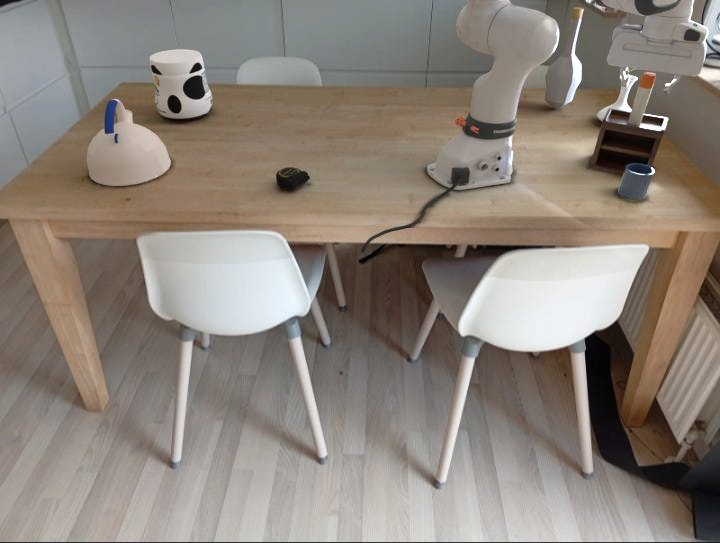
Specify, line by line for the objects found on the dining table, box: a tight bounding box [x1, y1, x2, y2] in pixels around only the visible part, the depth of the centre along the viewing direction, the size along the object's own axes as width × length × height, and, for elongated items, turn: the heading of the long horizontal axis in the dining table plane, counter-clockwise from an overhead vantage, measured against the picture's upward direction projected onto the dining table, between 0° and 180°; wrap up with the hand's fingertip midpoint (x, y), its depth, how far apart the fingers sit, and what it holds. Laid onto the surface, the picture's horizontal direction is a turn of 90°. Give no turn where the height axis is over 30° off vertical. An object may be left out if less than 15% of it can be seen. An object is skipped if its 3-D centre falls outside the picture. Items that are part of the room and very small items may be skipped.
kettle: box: [86, 98, 172, 187], centre depth 135 cm, size 20×21×18 cm
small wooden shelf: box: [589, 108, 669, 174], centre depth 137 cm, size 9×14×13 cm, turn 61°
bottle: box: [544, 6, 585, 110], centre depth 166 cm, size 11×11×30 cm
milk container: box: [148, 48, 214, 121], centre depth 166 cm, size 17×17×18 cm
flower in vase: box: [596, 68, 639, 122], centre depth 159 cm, size 13×11×25 cm
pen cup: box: [617, 163, 656, 201], centre depth 127 cm, size 6×6×7 cm
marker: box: [628, 71, 658, 125], centre depth 130 cm, size 3×3×12 cm
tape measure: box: [275, 166, 311, 191], centre depth 132 cm, size 7×7×4 cm
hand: (644, 89), depth 129 cm, fingers open, 8 cm apart
